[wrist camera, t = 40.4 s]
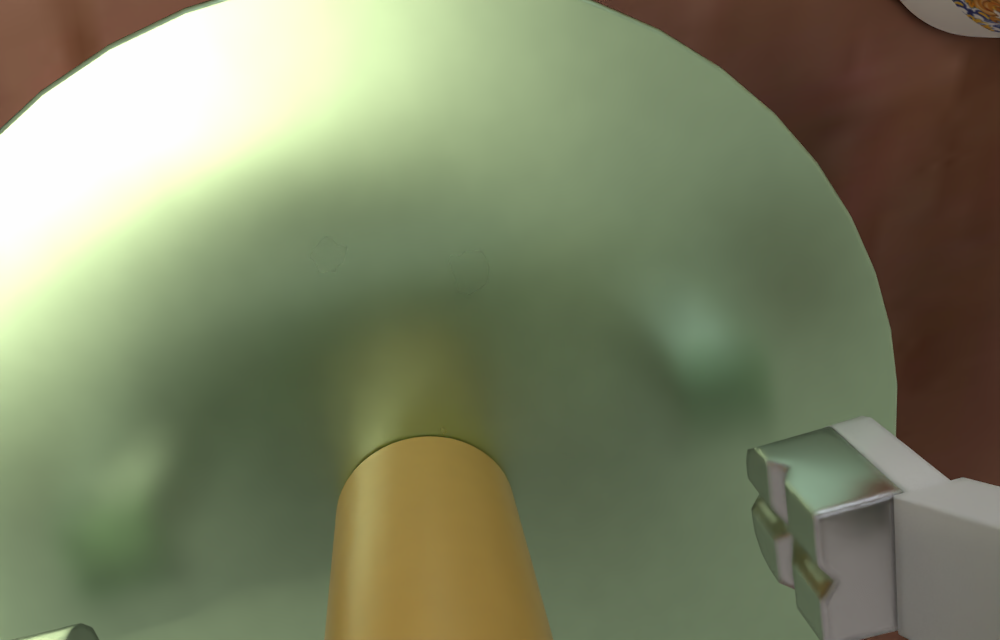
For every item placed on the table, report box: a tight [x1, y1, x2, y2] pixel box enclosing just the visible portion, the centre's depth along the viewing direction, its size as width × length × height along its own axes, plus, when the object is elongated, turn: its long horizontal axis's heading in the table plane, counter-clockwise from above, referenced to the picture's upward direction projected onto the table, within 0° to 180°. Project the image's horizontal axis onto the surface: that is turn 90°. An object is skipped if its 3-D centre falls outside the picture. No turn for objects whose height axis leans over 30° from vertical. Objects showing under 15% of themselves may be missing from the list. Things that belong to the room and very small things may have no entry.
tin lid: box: [0, 0, 897, 640], centre depth 9 cm, size 14×14×6 cm
